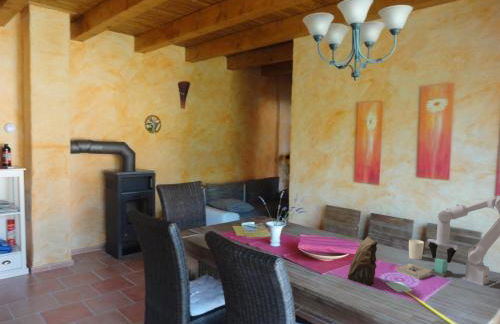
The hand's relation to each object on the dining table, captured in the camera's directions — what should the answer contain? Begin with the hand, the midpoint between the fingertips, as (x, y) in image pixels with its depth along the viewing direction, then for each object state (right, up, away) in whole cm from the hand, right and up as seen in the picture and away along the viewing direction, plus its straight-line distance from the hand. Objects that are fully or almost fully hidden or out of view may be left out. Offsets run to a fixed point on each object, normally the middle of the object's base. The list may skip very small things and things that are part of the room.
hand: (441, 260), depth 184 cm
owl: (-44, -7, -10) cm, 46 cm away
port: (-14, -7, -1) cm, 16 cm away
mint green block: (0, -7, 0) cm, 7 cm away
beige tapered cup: (-2, -6, +25) cm, 25 cm away
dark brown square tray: (0, -7, 0) cm, 7 cm away
